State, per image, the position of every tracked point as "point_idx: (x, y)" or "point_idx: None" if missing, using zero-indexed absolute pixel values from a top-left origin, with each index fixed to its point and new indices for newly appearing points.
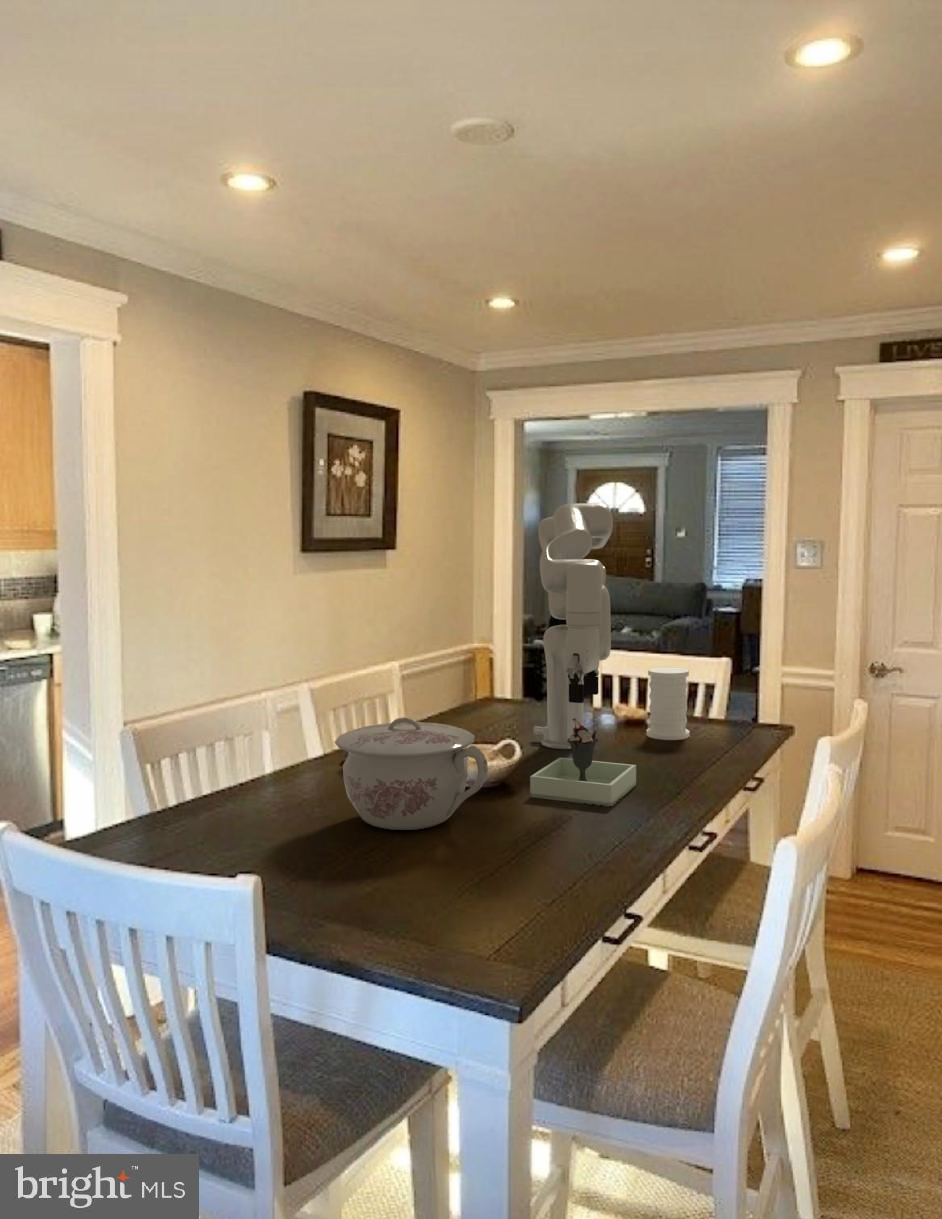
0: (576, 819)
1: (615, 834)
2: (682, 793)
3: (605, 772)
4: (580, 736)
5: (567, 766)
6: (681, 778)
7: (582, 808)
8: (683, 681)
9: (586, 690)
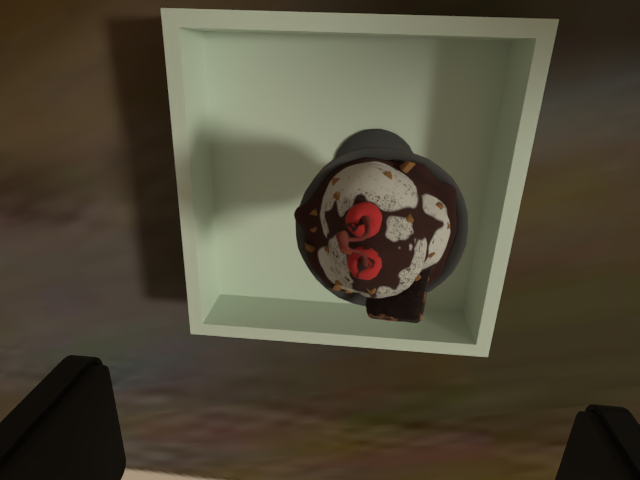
0: (59, 238)
1: (13, 348)
2: (417, 433)
3: (485, 235)
4: (330, 245)
5: (517, 69)
6: None
7: (161, 226)
8: None
9: (589, 460)
